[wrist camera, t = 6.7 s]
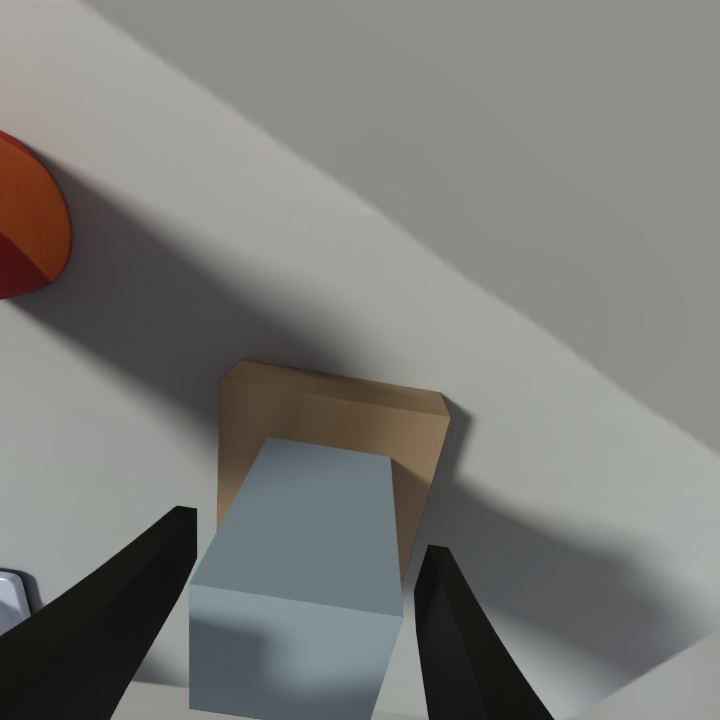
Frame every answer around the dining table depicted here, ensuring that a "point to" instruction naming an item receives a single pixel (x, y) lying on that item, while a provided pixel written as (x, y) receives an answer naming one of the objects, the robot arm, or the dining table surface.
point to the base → (332, 430)
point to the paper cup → (30, 222)
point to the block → (298, 589)
